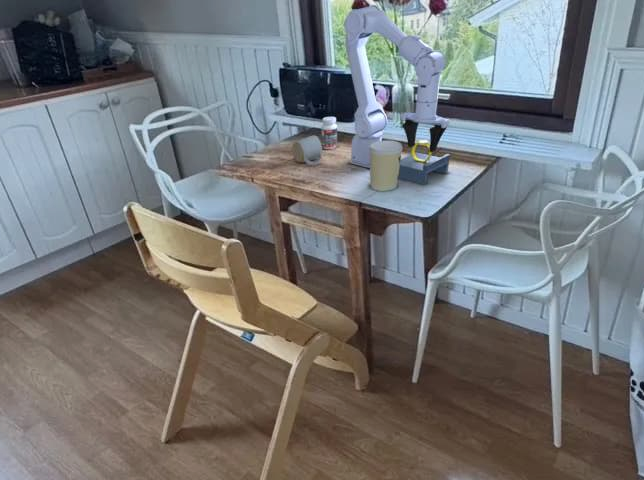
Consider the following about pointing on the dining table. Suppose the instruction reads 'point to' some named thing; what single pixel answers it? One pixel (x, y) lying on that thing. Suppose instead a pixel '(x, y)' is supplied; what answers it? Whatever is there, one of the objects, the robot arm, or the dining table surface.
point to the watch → (421, 142)
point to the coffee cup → (384, 164)
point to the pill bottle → (329, 133)
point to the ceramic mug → (308, 150)
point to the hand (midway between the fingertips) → (421, 148)
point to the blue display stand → (422, 167)
